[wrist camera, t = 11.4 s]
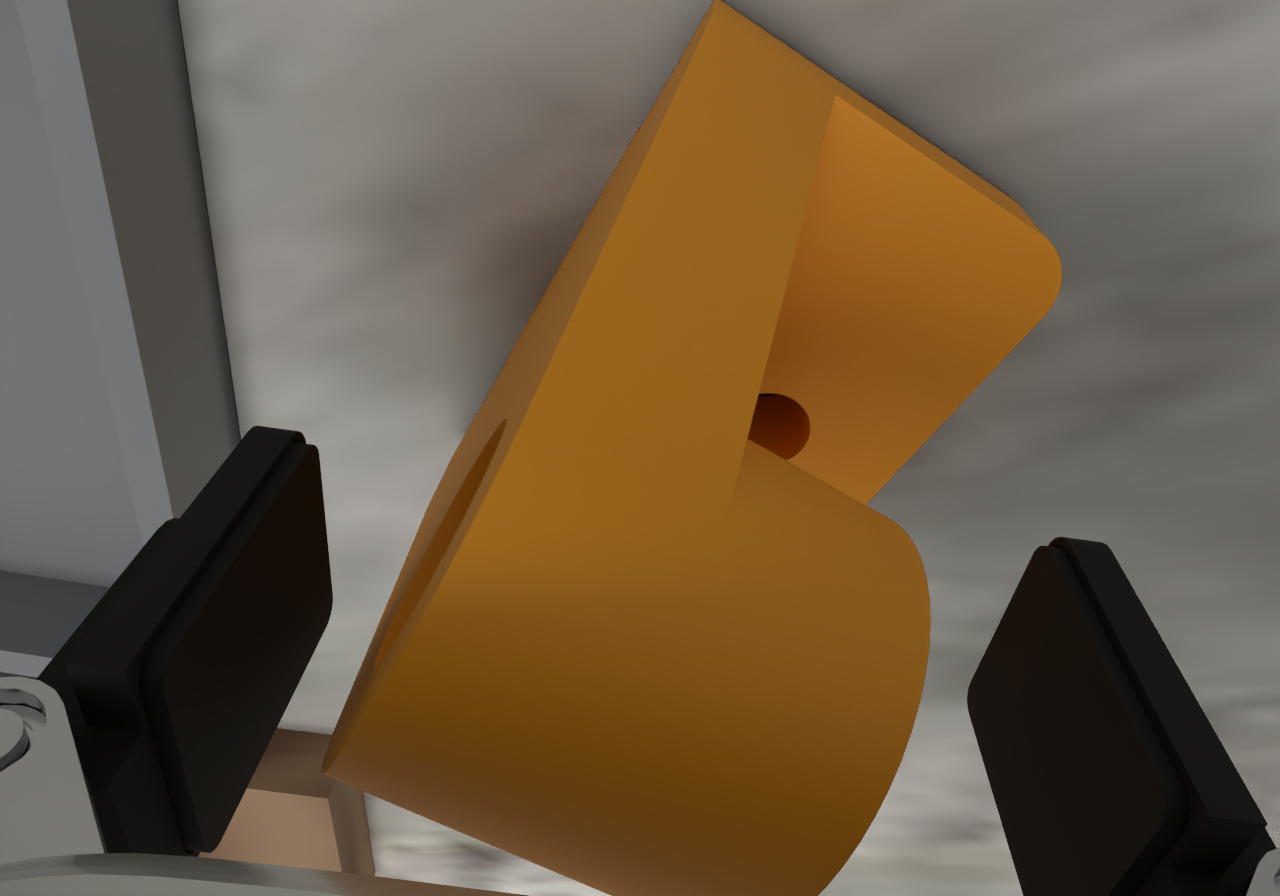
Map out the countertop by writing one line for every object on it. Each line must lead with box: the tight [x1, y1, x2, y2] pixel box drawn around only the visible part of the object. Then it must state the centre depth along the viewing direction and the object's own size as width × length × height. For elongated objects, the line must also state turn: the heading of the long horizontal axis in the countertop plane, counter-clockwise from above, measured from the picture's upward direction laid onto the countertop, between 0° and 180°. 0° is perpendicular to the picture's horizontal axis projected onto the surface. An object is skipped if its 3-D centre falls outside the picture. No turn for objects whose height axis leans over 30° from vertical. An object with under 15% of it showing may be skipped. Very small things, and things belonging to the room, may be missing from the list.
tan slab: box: [198, 728, 375, 876], centre depth 28 cm, size 9×7×2 cm
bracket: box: [321, 0, 1062, 896], centre depth 14 cm, size 11×7×12 cm, turn 150°
